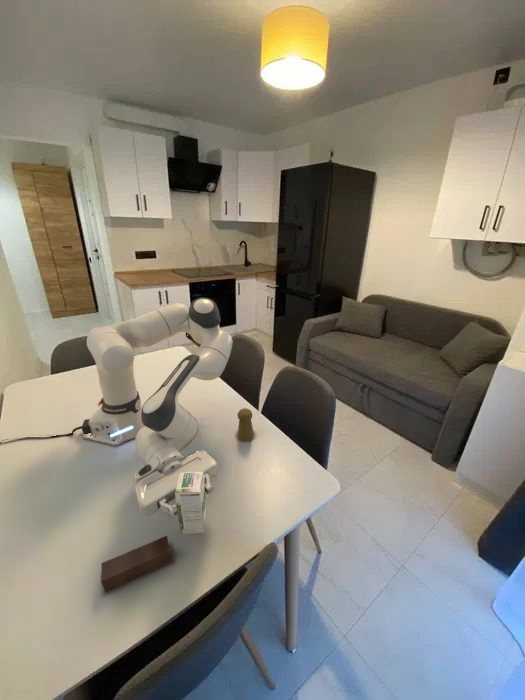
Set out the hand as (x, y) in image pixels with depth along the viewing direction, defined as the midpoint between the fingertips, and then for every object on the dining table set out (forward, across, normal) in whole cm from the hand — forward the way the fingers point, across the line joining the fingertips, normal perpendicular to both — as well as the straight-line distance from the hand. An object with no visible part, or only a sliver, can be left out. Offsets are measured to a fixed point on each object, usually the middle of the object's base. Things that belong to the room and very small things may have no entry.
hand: (193, 502), depth 68 cm
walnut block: (-2, +14, -13) cm, 19 cm away
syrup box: (-1, 0, -9) cm, 9 cm away
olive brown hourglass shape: (-22, -32, -13) cm, 40 cm away
